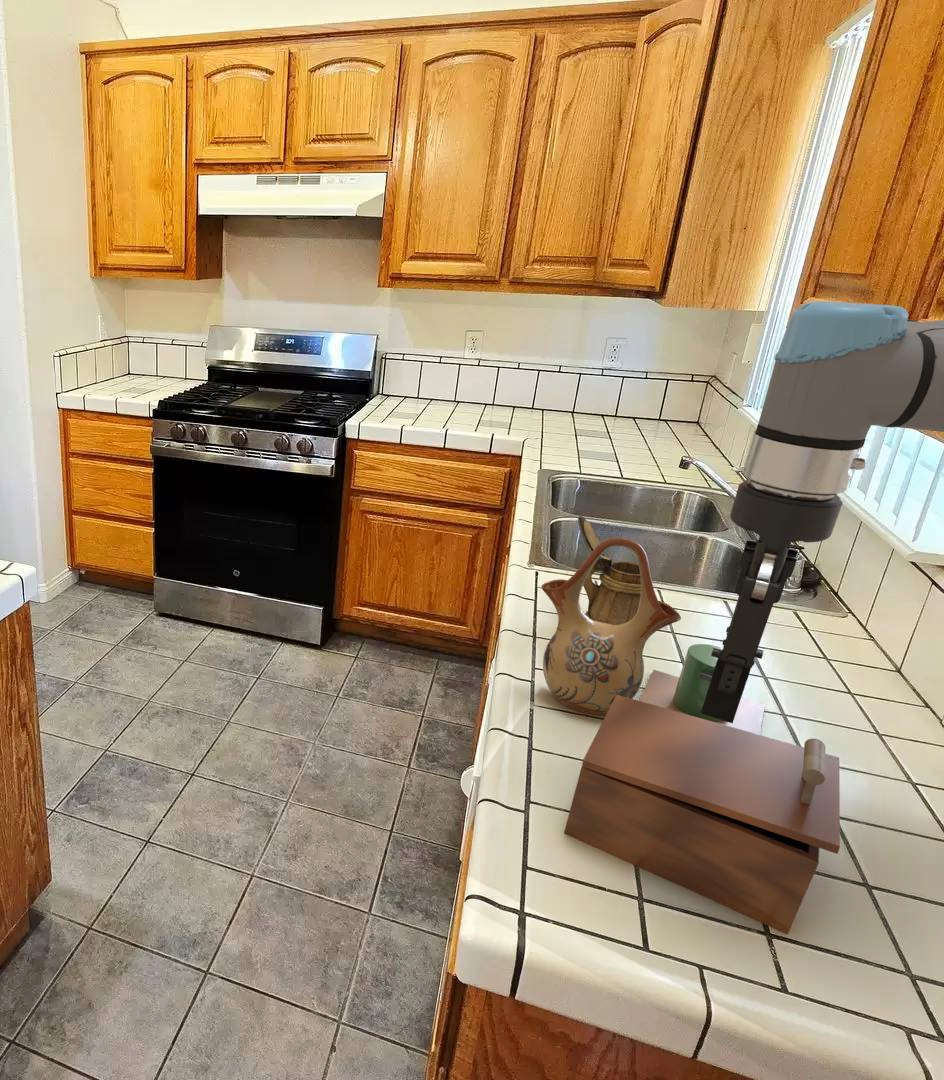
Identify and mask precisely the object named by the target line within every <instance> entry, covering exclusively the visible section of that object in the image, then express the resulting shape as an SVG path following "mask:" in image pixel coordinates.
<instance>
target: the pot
mask: <svg viewBox="0 0 944 1080" xmlns="http://www.w3.org/2000/svg"><path fill="white" fill-rule="evenodd" d="M713 648H716V649H720V650H722V649H723V647H721V646H717V645H712V644H708V643H707V644H705V643H697V644H692V645H690V646H689V647H688V649H687V651H686V655H685V657H684V660H683V664H682V667H681V670H680V673H679V680H678V683H677V687H676V690H675V693H674V696H673V702H674V704H675V705H676V707H678V708H679V709H680V710H681V711H683V712H684V713H686V714H688V715H691V716H694V717H698V718H701V719H705V720H708V721H712V722H723V720H720V719H717V718H714V717H711V716H708V715H705V714H702V713H701V711H702V707H703V704H704V701H705V698H706V695H707V691H708V688H709V685H710V682H711V679H712V675H713V672H714V669H715V666H716V663H717V660H718V658H716V657H712V656H711V654H712V651H713Z"/></svg>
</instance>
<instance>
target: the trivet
mask: <svg viewBox="0 0 944 1080" xmlns="http://www.w3.org/2000/svg"><path fill="white" fill-rule="evenodd" d="M679 677H680V676H679ZM679 677H678V676H676V675H673V674H669V673H667V672H664V671H660V670H656V669H652V672H651V674H650V676H649V679H648V680H647V683H646V685H645V687H644V690H643V692H642V694H641V695H640V699H639V701H641V702H645V703H648V704H652V705H655V706H659V707H662V708H666V709H669V710H673V711H677V712H680V713H684V712H683V711H681V710H680V709H679V708H678V707H676V705H675V704H674V702H673V696H674V693H675V690H676V687H677V683H678V680H679ZM765 708H766V704H765V703H760V702H757V701H754V700H752V699H748V698H745V697H741V700H740V703H739V706H738V709H737V712H736V715H735V718H734V721H733V724H732V723H729V722H726V721H723V722H715V723H719V724H723V725H726V726H730V727H733V728H737V729H740V730H744V731H747V732H751V733H754V734H758V735H761V734H762V728H763V727H762V726H763V721H764V715H765V710H766V709H765ZM684 714H686V713H684ZM687 715H688V714H687ZM761 736H762V735H761Z"/></svg>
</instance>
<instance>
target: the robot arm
mask: <svg viewBox="0 0 944 1080" xmlns="http://www.w3.org/2000/svg"><path fill="white" fill-rule="evenodd" d="M763 401H764V402H763V405H762V409H761V413H760V416H759V421H758V423H757V426H756V429H755V430H754V431H753V433H752V437H751V441H750V443H749V447H748V450H747V454H746V457H745V460H744V464H743V466H742V467H743V468H742V471H741V474H742V475H743V477H745V478H746V479H745V480H743V481H742V482H740V483H739V484H738V486H737V490H736V493H735V496H734V500H733V504H732V506H731V510H730V514H729V516H730V520H731V522H733V524H734V525H736V526H737V527H739V528H741V529H743V530H745V531H748V532H753V533H755V534H756V535H758V536H759V537H758V539H755V540H751V539H746V542H745V544H744V548H743V551H742V554H741V559H740V561H739V566H740V571H739V574H738V578H737V581H736V585H735V587H734V592H735V594H736V595H737V596H738V598H737V600H736V604H735V606H734V611H733V614H732V617H731V620H730V623H729V625H728V626H727V627H726V630H725V632H726V636H725V638H724V639H723V640H722V644H721V645H722V648H723V649H722V650H720V649H716V648H713V651H712V654H711V656H712V657H716V658H718V660H717V663H716V666H715V669H714V672H713V675H712V679H711V682H710V685H709V688H708V691H707V695H706V698H705V701H704V704H703V707H702V711H701V713H702V714H705V715H708V716H711V717H714V718H717V719H720V720H723V721H726V722H729V723H732V724H733V721H734V718H735V715H736V712H737V709H738V706H739V703H740V700H741V697H742V696H743V694H744V690H745V687H746V685H747V682H748V679H749V677H750V676H749V675H750V673H751V671H752V668H753V667H754V666H755V662H756V660H755V658H757V659H760V660H762V658H763V657H764V650H763V649H760V648H759V646H760V643H761V640H762V638H763V634H764V632H765V629H766V626H767V623H768V620H769V617H770V614H771V611H772V610H773V606H774V604H777V603H779V602H780V600H781V598H782V594H783V592H784V589H785V586H786V584H787V583H786V582H787V580H788V579H789V578H791V577H792V575H793V573H794V570H795V567H796V564H797V561H798V558H797V555H798V552H799V550H798V549H795V548H791V547H790V545H791V543H796V542H803V543H805V544H806V543H810V544H811V543H819V542H824V541H826V540H828V539H829V538H830V537H831V536H832V534H833V531H834V529H835V526H836V524H837V520H838V517H839V514H840V512H841V509H842V507H843V501H842V499H841V497H840V496H839V495H841V494H843V493H845V492H846V491H847V490H848V487H849V484H850V480H851V478H852V475H853V473H852V471H851V470H855V471H861V470H864V469H865V468H866V464H867V462H866V459H864V458H862V457H858V456H859V454H860V453H861V448H863V447H864V445H865V443H866V438H867V436H868V433H869V431H870V429H871V427H872V426H875V427H883V428H892V429H893V428H901V429H909V430H920V431H930V432H931V431H932V432H940V433H944V319H940V320H929V321H917V320H913V319H909V312H908V310H907V309H905V307H903V306H899V305H890V304H876V303H862V302H861V303H859V302H846V301H845V302H844V301H825V300H823V301H820V300H819V301H818V300H817V301H810V302H806V303H803V304H802V305H800V306H799V307H797V308H796V309H795V310H794V312H793V313H792V314H791V316H790V319H789V322H788V324H787V327H786V329H785V331H784V334H783V337H782V339H781V342H780V345H779V348H778V351H777V352H776V354H775V356H774V364H773V367H772V371H771V375H770V379H769V383H768V387H767V390H766V394H765V397H764V400H763ZM742 698H743V697H742Z"/></svg>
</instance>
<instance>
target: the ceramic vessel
mask: <svg viewBox="0 0 944 1080" xmlns="http://www.w3.org/2000/svg"><path fill="white" fill-rule="evenodd" d="M612 547H623V548H626V549H628V550H630V551H632V552H633V553H634V554H635V556H636V559H637V564H639V569H640V577H641V596H640V603H639V607H638V611H637V613H636V615H635V616H634V618H633V619H631V620H630V621H628V622H626V623H624V624H620V625H611V624H607V623H602V622H599V621H595V620H592V619H590V618H589V617H587V616H586V615H585V612H584V611H583V609H582V608H581V604H580V597H581V593H582V590H583V588H584V586H583V584H584V582H585V579H586V577H587V575H588V574H589V572H590V570H591V569H592V567H593V566H594V564H595V563H596V561H597V560H598V559H599V557H600V556H601V555H602V554H604V553H605V552H606V551H607V550H609V548H612ZM540 588H541V590H542V591H543V593H545V595H546V596H547V597H548V598H549V600H550V601H551V603H552V605H553V606H554V609H555V611H556V613H557V627H556V630H555V632H554V633H553V635H552V636H551V638H550V639H549V641H548V642H547V644H546V645H545V649H544V653H543V657H542V671H543V672H542V673H543V677H544V681H545V683H546V685H547V688H548V689H549V691H550V693H551V694H552V695H553V696H554V698H556V700H557V701H558V702H559V703H560V704H562V705H564V706H565V707H568V708H569V709H572V710H573V711H577V712H580V713H584V714H588V715H595V716H603V715H604V716H605V715H606V714H607V712H608V710H609V708H610V706H611V704H612V703H613V701H614V699H615V697H616V695H620V696H624V697H627V698H631V699H634V698H635V697H636V696H637V694H638V692H639V691H640V688H641V686H642V683H643V680H644V674H645V662H644V654H643V653H644V649H645V645H646V643H647V641H648V639H650V638H651V636H652V635H654V634H655V633H657V632H658V631H659V630H661V629H663V628H665V627H668V626H669V625H672V624H675V623H677V622H679V621H681V620H682V616H681V615H680V613H679V612H678V611H677V610H676V609H675V608H674V607H672V605H670V604H668V603H666V602H664V601H662V600H659V599H658V597H657V595H656V591H655V587H654V583H653V579H652V574H651V568H650V563H649V559H648V556H647V553H646V551H645V549H644V548H643V547H642V546H641V545H640V544H639V543H638V542H636V541H634V540H632V539H630V538H627V537H612V538H610V537H609V538H607V539H605V540H603V541H600V544H599V545H598V546H597V547H596V548H595V549H594V550H593V551H592V553H590V554H589V555H588V556H587V558H586V559H585V560H584V561H583V563H582V564H581V566H579V568H578V569H577V570H576V571H575V573H574V574H573V575H572V576H571V577H569V578H568V579H563V578H561V579H560V578H559V579H552V580H550V581H545V582H544V583H543V584H542V585H541V586H540Z"/></svg>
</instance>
